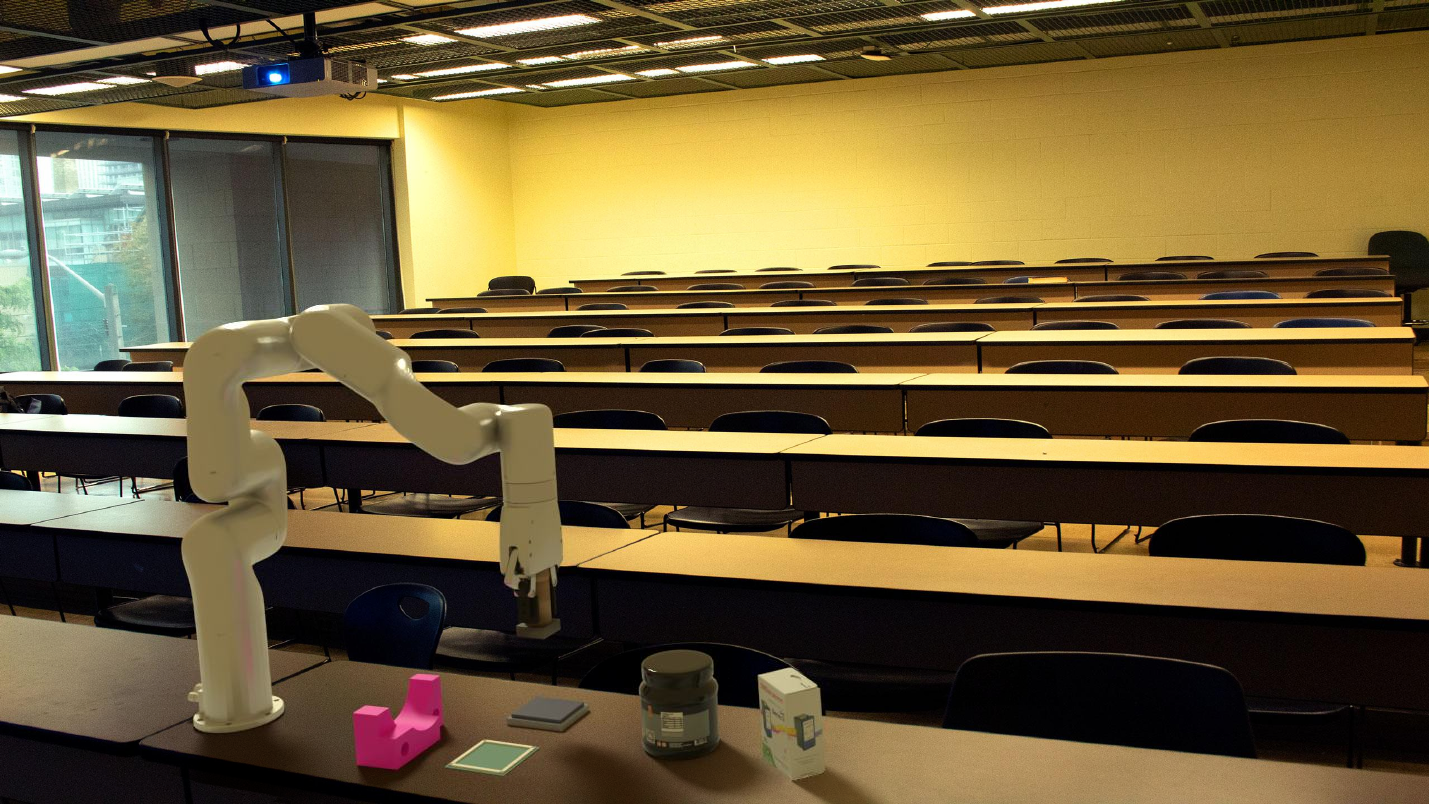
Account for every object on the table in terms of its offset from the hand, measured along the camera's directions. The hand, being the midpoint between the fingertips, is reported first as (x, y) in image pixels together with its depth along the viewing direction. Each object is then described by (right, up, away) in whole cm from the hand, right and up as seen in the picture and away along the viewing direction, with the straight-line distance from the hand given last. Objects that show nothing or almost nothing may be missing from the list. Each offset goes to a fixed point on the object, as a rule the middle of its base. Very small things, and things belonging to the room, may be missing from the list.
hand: (537, 616), depth 161 cm
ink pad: (+1, -15, +3) cm, 16 cm away
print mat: (-4, -17, -11) cm, 20 cm away
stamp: (0, -2, 0) cm, 2 cm away
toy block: (-17, -17, -5) cm, 25 cm away
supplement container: (+21, -16, -9) cm, 28 cm away
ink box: (+35, -16, -17) cm, 42 cm away
